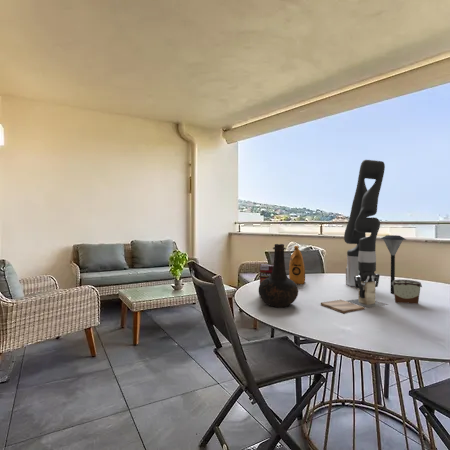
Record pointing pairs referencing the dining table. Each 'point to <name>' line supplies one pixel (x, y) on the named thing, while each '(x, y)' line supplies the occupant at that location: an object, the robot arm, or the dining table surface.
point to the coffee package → (297, 267)
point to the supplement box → (265, 271)
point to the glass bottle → (278, 283)
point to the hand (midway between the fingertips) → (366, 296)
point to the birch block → (368, 293)
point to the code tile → (366, 304)
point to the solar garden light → (392, 252)
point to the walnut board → (342, 306)
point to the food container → (406, 291)
